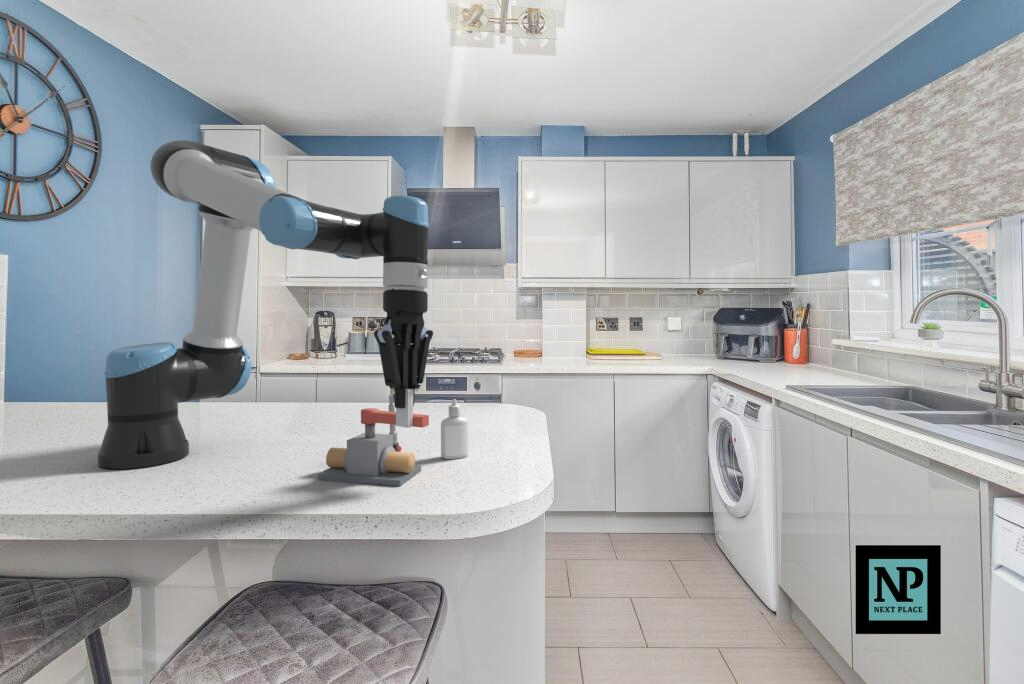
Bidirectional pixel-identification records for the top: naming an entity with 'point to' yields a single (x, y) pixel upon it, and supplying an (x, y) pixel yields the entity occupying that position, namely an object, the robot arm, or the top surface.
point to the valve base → (370, 461)
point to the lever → (390, 417)
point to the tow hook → (393, 426)
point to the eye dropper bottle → (454, 434)
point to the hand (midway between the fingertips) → (404, 426)
